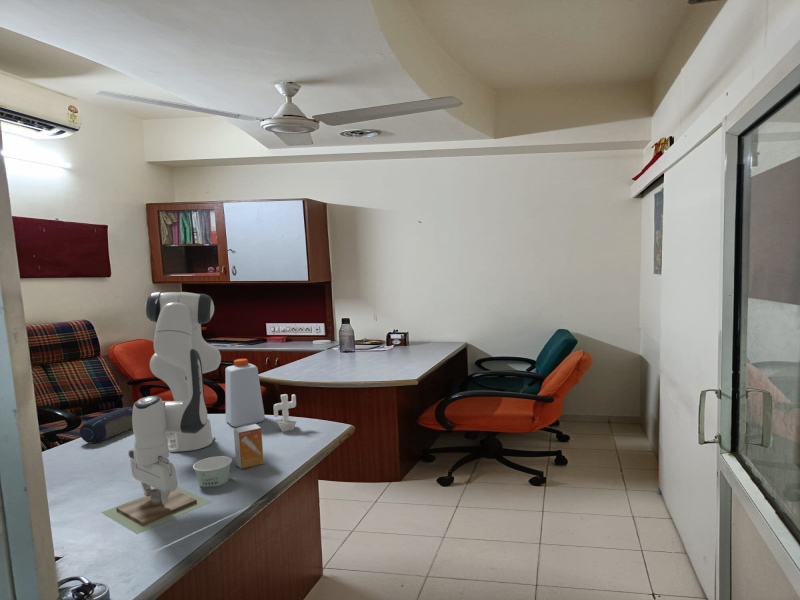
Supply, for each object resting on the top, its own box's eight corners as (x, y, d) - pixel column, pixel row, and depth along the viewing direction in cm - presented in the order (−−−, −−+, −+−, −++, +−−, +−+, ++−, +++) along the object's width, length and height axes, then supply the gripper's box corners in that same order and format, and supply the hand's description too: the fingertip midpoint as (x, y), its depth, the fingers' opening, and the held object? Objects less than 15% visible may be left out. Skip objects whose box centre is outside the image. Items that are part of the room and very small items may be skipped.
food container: (192, 493, 166) (190, 472, 165) (196, 478, 177) (194, 459, 177) (232, 486, 169) (231, 466, 168) (234, 472, 180) (232, 453, 180)
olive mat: (101, 513, 155) (101, 512, 155) (173, 486, 172) (173, 484, 172) (137, 535, 141) (137, 533, 141) (211, 502, 158) (211, 501, 158)
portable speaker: (97, 446, 215) (94, 422, 214) (78, 445, 218) (75, 421, 217) (143, 426, 239) (141, 405, 238) (126, 425, 242) (124, 404, 241)
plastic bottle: (223, 421, 241) (218, 360, 239) (256, 414, 249) (252, 355, 247) (233, 429, 228) (228, 364, 226) (267, 421, 237) (263, 359, 234)
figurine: (273, 429, 225) (271, 394, 224) (295, 425, 229) (293, 391, 228) (277, 433, 219) (274, 398, 218) (299, 429, 223) (297, 394, 221)
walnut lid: (116, 510, 155) (114, 494, 155) (169, 490, 167) (167, 475, 167) (142, 525, 145) (141, 508, 145) (196, 502, 157) (195, 486, 157)
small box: (241, 469, 182) (238, 432, 181) (235, 464, 188) (233, 428, 187) (264, 463, 187) (261, 427, 186) (258, 458, 192) (255, 423, 191)
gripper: (181, 456, 151) (185, 503, 152) (146, 443, 164) (150, 487, 165) (159, 464, 146) (163, 512, 147) (125, 450, 159) (129, 495, 160)
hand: (156, 499), depth 156 cm, fingers open, 8 cm apart
